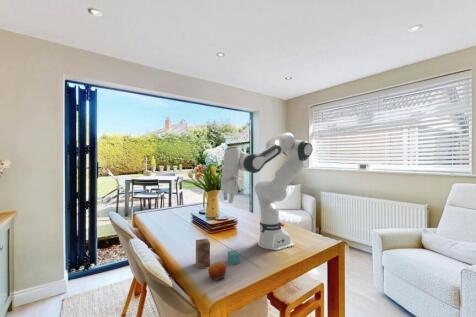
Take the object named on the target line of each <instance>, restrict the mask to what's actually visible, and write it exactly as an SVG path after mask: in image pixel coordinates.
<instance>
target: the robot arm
mask: <svg viewBox="0 0 476 317" xmlns="http://www.w3.org/2000/svg"><path fill="white" fill-rule="evenodd" d="M265 148H266V149H264V150H263V151H261V152H259V153H250V154H249V153H246V152H244V151H242V149H240V147H238V146H230V147H227V148H226V149H225V150H224V154H223V161H222V164H223V167H222V172H221V173H220V176H219V177H220V178H221V179H220V191H222V192H223V200H225V201H227V200H228V203H229V204H232V203H233V202H234V201H233V200H234V198H235V196H237V195H238V192H239V182H238V181H237V180H239V171H242V172H247V173H251V174H256V173H258V172H259V173H260V171H261V170H262V169H263V168H264V166H265V165H266V164H268V163H269V162H271V161H272V160H273V159H275V158H276V157H278V156H279V155H281V154H283V155H285V156H288V159H287V160H286V161H285V162H284V163H283V164H282V165H281V166H280V167H279V168H277V170H276V171H275V173H274V177H273V179H272V180H271V181H267V180H261V181H258V182H257V183H256V184H255V186H254V192H255V194H256V197H257V200H258V204H259V209H260V221H259V239H258V242H257V245H258V247H260V248H261V249H262V248H263V249H266V250H272V251H280V250H284V249H288V248H291V246H292V247H294V246H295V242H294V241H292V239H291V235H290V233H289V232H287V231H286V230H285V229H283V228H284V227H285V223H283V222H280V221H279V217H280V216H279V214H280V212H279V208H278V206H277V204H276V202H277V203H278V202H282V201H284V200H285V199H286V198H287V192H288V191H287V188H288V186H289V184H290V183H291V182H293V180H294V179H295V178H296V177H297V176H298V174H299V173H300V172H301V171H302V169H303V168H304V165H305V164H304V162H305V161H307V159H308V158H309V157H310V156H311V155H312V153H313V150H314V149H313V145H312V143H311V142H309V141H306V140H301V139H295V137H294V135H293V134H292V133H290V132H283V133H279V134H277V135H275V136H272V137H271V138H270V139H269V140H267V141H266V143H265ZM228 197H229V199H228ZM282 227H283V228H282ZM287 247H288V248H287Z"/></svg>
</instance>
